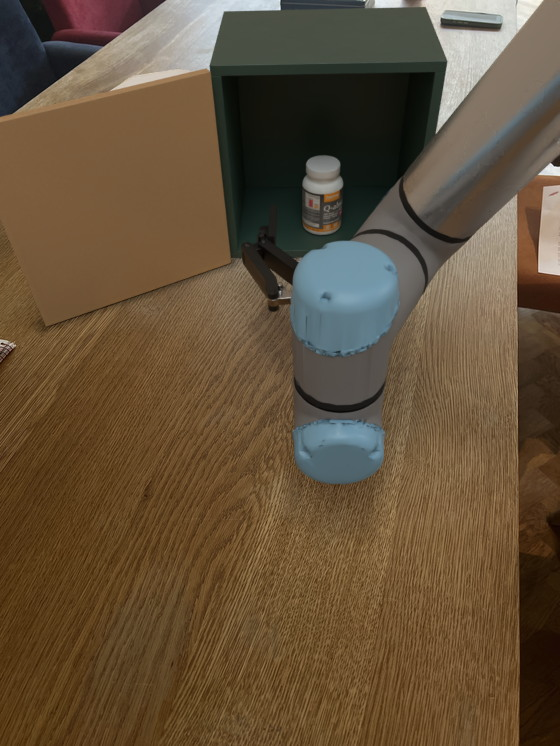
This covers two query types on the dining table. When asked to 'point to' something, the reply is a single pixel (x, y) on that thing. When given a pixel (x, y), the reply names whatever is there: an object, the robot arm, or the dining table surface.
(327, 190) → the pill bottle
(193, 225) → the cupboard door
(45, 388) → the dining table surface
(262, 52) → the cupboard
